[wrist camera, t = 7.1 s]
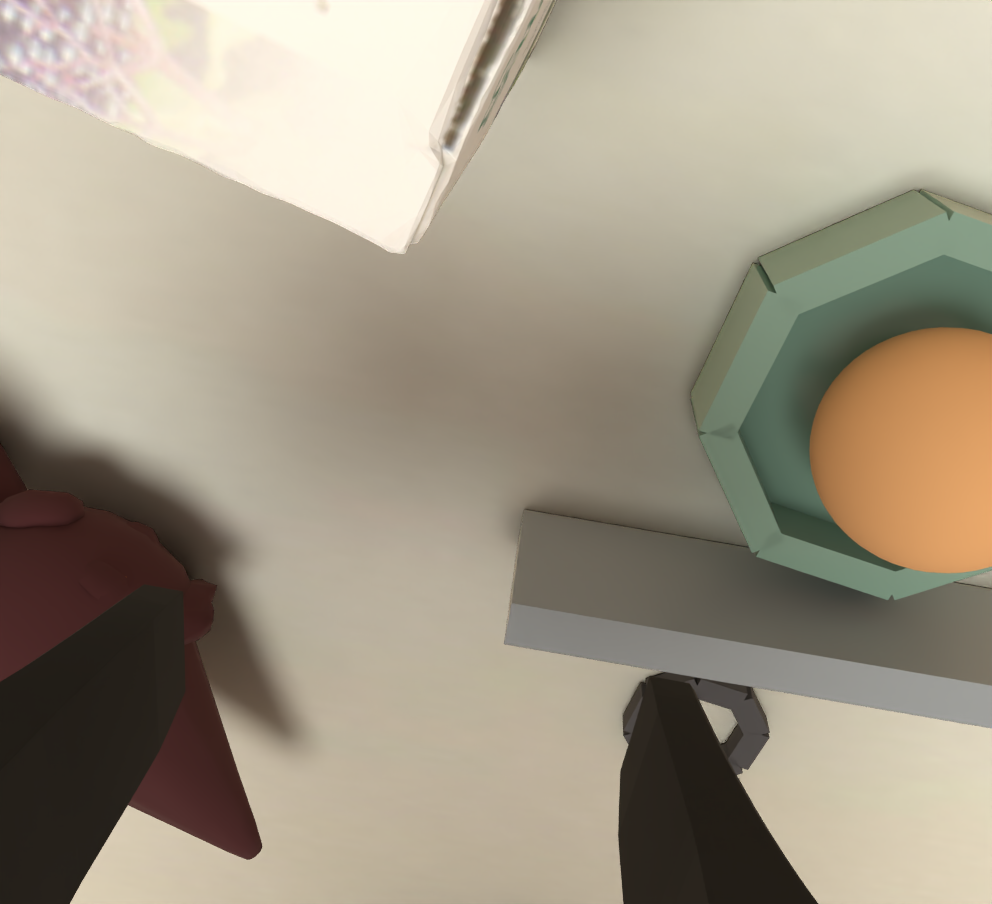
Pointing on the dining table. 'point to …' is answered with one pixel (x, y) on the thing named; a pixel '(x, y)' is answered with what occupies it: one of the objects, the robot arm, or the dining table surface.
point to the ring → (732, 696)
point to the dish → (830, 368)
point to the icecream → (87, 594)
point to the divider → (747, 620)
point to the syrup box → (291, 90)
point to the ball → (912, 450)
